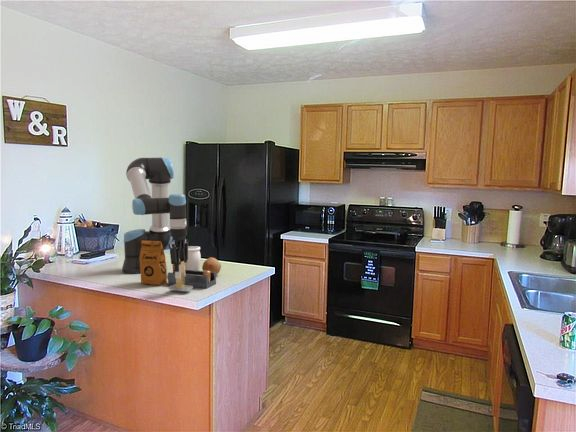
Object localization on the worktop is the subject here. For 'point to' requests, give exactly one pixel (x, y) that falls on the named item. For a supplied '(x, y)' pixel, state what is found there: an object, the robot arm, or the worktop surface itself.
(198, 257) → the jar
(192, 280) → the dark grey tray
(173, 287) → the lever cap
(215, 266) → the onion
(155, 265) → the coffee package
